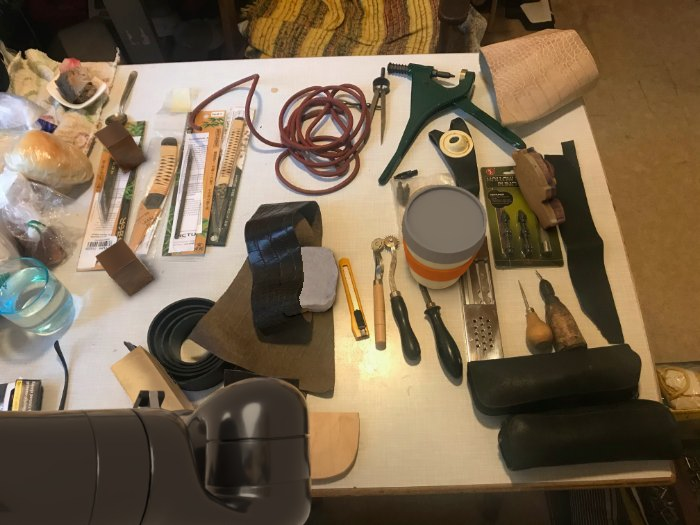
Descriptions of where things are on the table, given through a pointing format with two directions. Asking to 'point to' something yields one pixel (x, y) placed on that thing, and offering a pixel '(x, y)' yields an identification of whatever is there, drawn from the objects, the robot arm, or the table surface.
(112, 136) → the pillar far
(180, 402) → the birch block
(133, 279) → the pillar near
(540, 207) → the wooden carving
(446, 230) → the reusable coffee cup
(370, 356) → the table surface
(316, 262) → the stone block
